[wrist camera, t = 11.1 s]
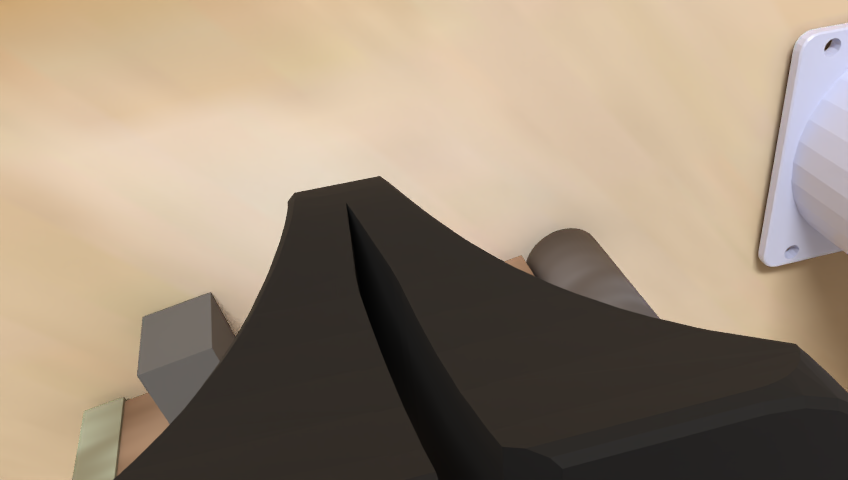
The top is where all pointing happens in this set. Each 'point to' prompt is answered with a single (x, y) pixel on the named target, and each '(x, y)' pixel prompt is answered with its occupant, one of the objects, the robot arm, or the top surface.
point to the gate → (549, 260)
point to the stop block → (181, 351)
